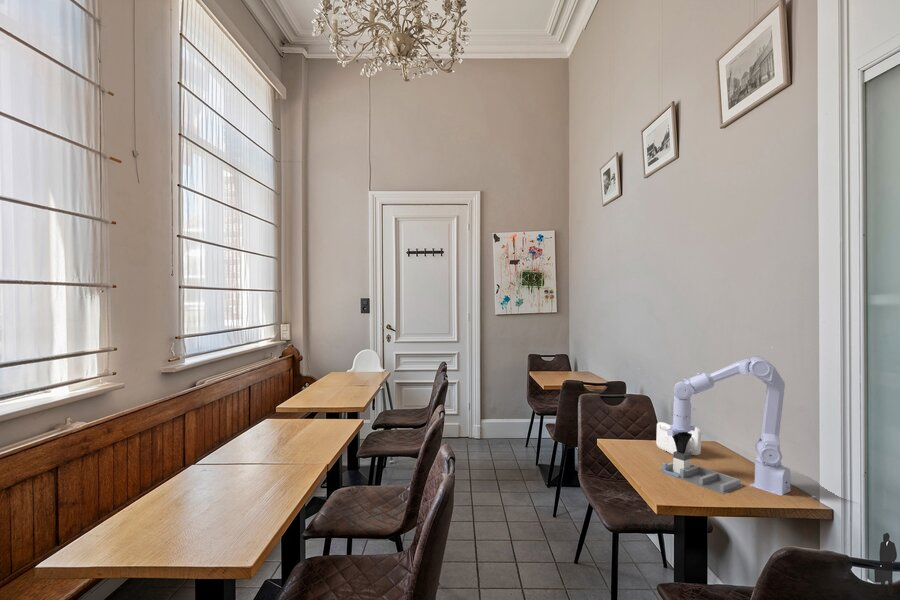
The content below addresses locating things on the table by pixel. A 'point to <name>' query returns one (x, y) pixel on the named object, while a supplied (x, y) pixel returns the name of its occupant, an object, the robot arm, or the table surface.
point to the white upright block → (680, 461)
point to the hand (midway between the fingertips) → (680, 452)
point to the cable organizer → (669, 445)
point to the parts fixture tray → (704, 478)
